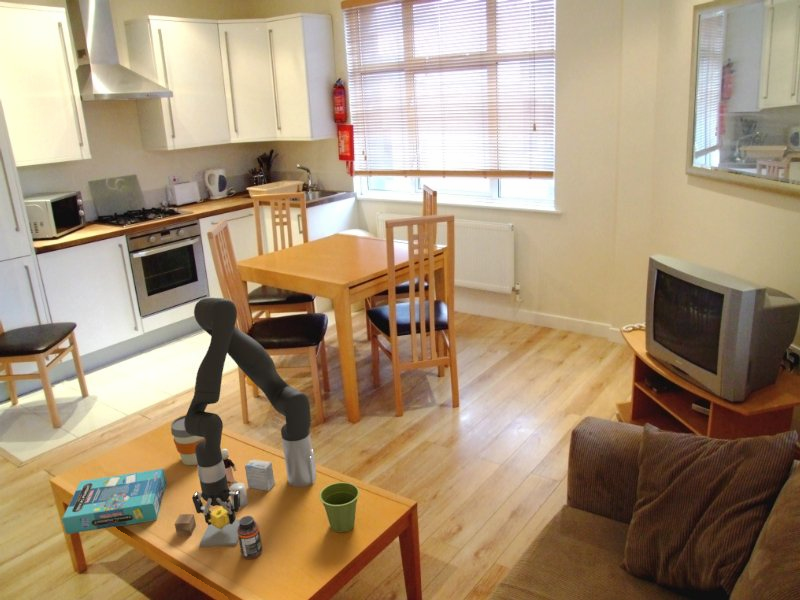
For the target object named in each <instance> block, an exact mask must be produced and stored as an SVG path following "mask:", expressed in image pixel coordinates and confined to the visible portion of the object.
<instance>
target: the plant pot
mask: <svg viewBox="0 0 800 600" xmlns="http://www.w3.org/2000/svg"><path fill="white" fill-rule="evenodd" d="M360 493H361V492H360V489H359V487H358V486H357V485H355V484H354V483H351V482H346V481H345V482H343V481H341V482H339V481H338V482H334V483H331V484H328V485H326V486H324V488H322V489H321V491H320V492H319V500H320V502H321V503H322V505H323V507H324V509H325V513H326V516H327V519H328V523H329V526H330V529H331V530H332V531H334V532H335V533H339V532H340V533H346V532H349V531H350V530H352V529H353V528H354V526H355V521H356V510H357V503H358V498H359V496H360Z"/></svg>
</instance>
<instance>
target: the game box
mask: <svg viewBox="0 0 800 600" xmlns="http://www.w3.org/2000/svg"><path fill="white" fill-rule="evenodd" d="M166 486H167V480H166V474H165V469H164V468H157V469H153V470H145V471H139V472H133V473H131V472H130V473H126V474H119V475H114V476H113V475H112V476H105V477H99V478H94V479H93V478H92V479H87V480H86V479H85V480H80V481H79V483H78V485H77V487H76V490H75V491H74V492H73V493H74V494H73V496H72V498H71V500H70V502H69V504H68V506H67V508H66V510H65V512H64V514H63V516H62V518H61V521H62V524H63V527H64V531H65V534H66V535H72V534H77V533H84V532H89V531H96V530H102V529H107V528H109V529H110V528H114V527H121V526H126V525H133V524H139V523H141V524H142V523H146V522H153V521H157V520H158V516H159V513H160V510H161V509H160V508H161V505H162V500H163V496H164V493H165V489H166Z"/></svg>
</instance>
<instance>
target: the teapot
mask: <svg viewBox="0 0 800 600" xmlns="http://www.w3.org/2000/svg"><path fill="white" fill-rule="evenodd" d="M228 514H229V513H228V512H227V510H226V509H224V508H223V507H222V506H218V507H217V508H216V509H215V510H213V511H211V513H210V520H208V521H209V522H211V524H212V525H213V526H215V527H216V528H218V529H223V527H224V526H226V525H229V524H230V522H229V516H228Z"/></svg>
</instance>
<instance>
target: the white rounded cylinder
mask: <svg viewBox="0 0 800 600" xmlns="http://www.w3.org/2000/svg"><path fill="white" fill-rule="evenodd" d="M228 489H229V490H230V492H236V491H237V490H239V491H240V508H243V507H245V506H247V505H248V502H249V501H248V494H247V489H246V484H245V483H244V482H237V483H235V484H233V485H229V487H228ZM230 500H231V503H232V504H233V506H234V500H232V497H231V496H230ZM240 508H239V509H240Z"/></svg>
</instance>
